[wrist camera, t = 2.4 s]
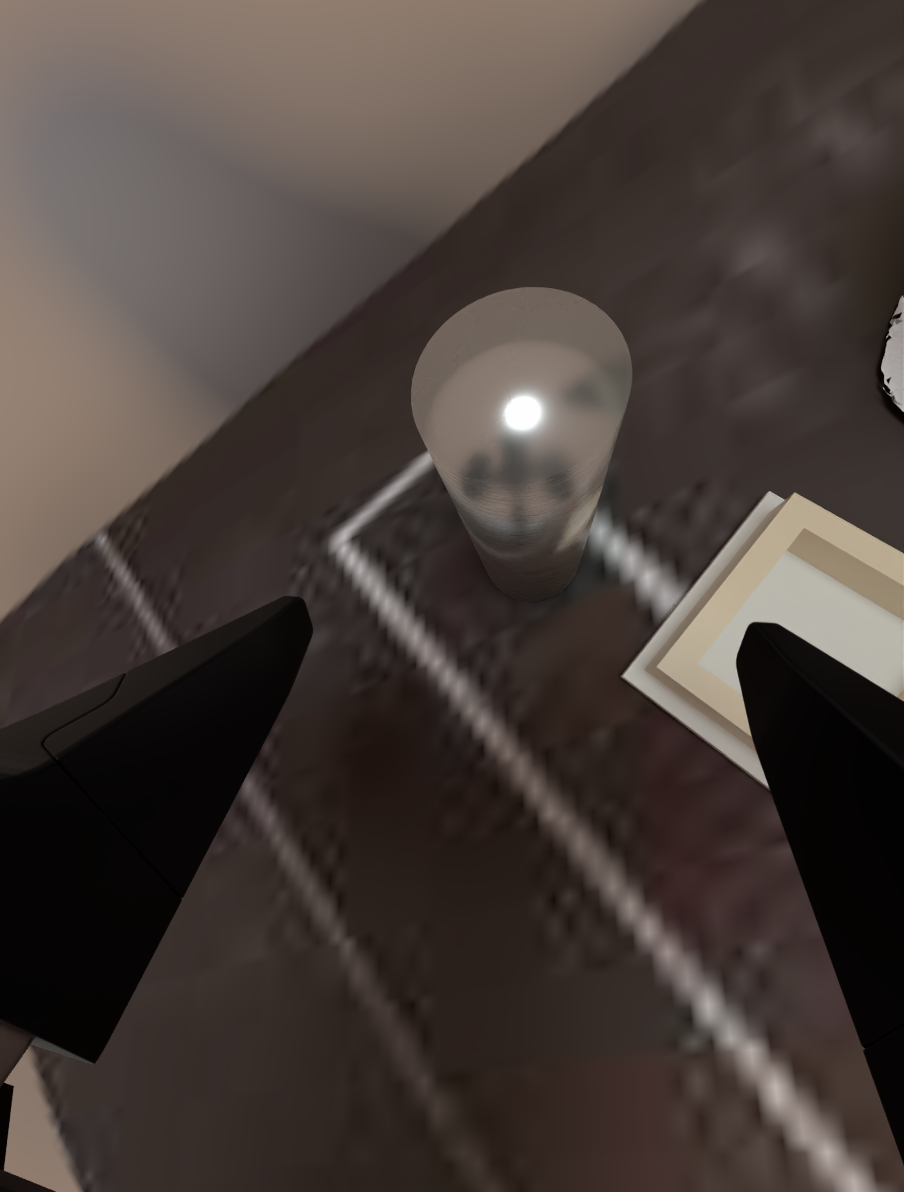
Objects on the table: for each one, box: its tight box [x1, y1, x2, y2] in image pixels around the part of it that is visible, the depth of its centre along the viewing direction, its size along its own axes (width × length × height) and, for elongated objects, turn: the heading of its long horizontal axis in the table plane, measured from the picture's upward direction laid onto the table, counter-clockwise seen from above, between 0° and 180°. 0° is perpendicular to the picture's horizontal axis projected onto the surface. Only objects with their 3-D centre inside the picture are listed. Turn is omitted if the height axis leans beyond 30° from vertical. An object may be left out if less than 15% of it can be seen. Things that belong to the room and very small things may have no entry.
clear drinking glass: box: [411, 287, 632, 602], centre depth 15 cm, size 4×4×12 cm
